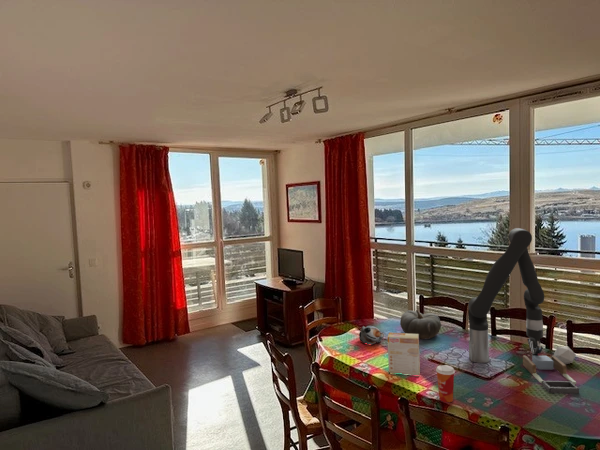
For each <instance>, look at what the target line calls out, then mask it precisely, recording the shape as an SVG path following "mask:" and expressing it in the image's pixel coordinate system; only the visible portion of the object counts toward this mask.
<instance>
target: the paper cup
mask: <svg viewBox="0 0 600 450" xmlns="http://www.w3.org/2000/svg"><path fill="white" fill-rule="evenodd" d="M435 372H436V377H437V389H438V390H437V391H438V397H439V401H440V402H442V401H443V403H446V402H449V403H452V402H454V385H455V382H454V381H455V379H454V378H455V372H456V371H455V368H454V367H453V366H451V365H447V364H444V365H443V364H441V365H438V366H436V369H435Z"/></svg>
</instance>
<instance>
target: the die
mask: <svg viewBox="0 0 600 450" xmlns="http://www.w3.org/2000/svg"><path fill="white" fill-rule="evenodd" d="M552 356H555V357H556V358H558V359H559V360H560V361H561V362H563V363H564V364H565V365H568V364H569V365H571V364H570V363H572V364H573V362H574V360H575V358H576V356H577V354H576V353H575V352H574V351H573V350H572V349H571V348H570V347H569V346H568V345H566V346H565V345H564V346H556V349H555V352H554V354H553V355H552Z"/></svg>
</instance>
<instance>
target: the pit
mask: <svg viewBox="0 0 600 450" xmlns="http://www.w3.org/2000/svg"><path fill="white" fill-rule="evenodd" d="M541 386H542V387H543V389H544V390H546V392H547V393H548V394H565V395H566V394H568V395H574V394H575V395H578V394H580V388H579V387H578V386H577V384H573V383H572V382H571V381H569V380H560V381H559V380H543V381H542V383H541Z"/></svg>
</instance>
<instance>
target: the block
mask: <svg viewBox="0 0 600 450" xmlns="http://www.w3.org/2000/svg"><path fill="white" fill-rule="evenodd" d="M531 358H532V359H531V361H532V362H533V363H534V364H535V365H536V370H554V367H553V360H551V357H549V356H547V355H538V356H532V355H531Z"/></svg>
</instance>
